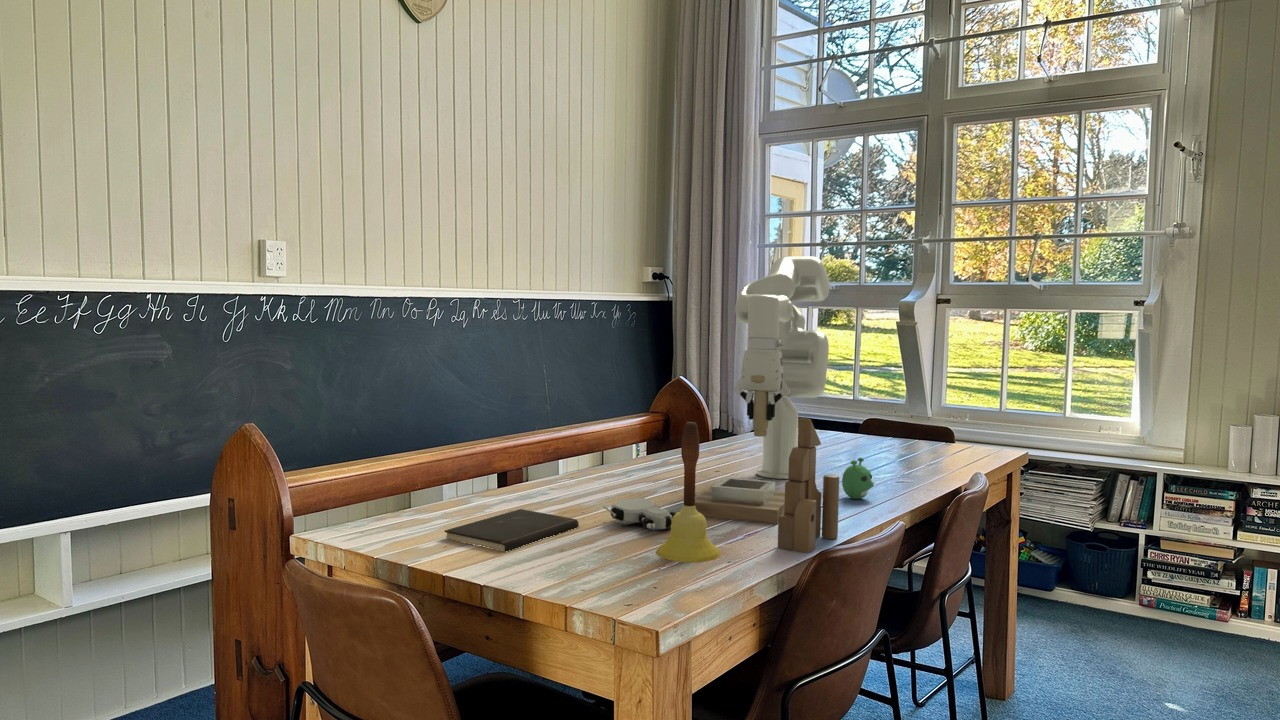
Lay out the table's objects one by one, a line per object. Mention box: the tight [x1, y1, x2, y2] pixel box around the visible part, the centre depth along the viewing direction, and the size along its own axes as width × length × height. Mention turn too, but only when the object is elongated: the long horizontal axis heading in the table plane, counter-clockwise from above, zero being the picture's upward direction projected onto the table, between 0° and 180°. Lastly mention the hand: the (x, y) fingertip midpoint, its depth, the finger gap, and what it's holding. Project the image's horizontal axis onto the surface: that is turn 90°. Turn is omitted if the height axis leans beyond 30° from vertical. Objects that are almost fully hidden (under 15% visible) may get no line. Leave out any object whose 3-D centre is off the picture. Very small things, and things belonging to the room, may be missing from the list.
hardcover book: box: [444, 508, 579, 553], centre depth 180 cm, size 16×23×2 cm
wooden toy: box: [777, 417, 840, 554], centre depth 176 cm, size 15×7×25 cm, turn 145°
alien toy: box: [841, 457, 875, 500], centre depth 217 cm, size 7×8×10 cm
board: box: [695, 486, 785, 525], centre depth 204 cm, size 20×20×3 cm
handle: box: [751, 376, 769, 438], centre depth 217 cm, size 5×6×15 cm
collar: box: [711, 477, 776, 505], centre depth 204 cm, size 12×12×3 cm
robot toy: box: [602, 497, 677, 532], centre depth 188 cm, size 12×4×15 cm
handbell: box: [655, 421, 722, 563], centre depth 167 cm, size 12×12×25 cm
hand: (760, 418), depth 217 cm, fingers closed on handle, 4 cm apart
